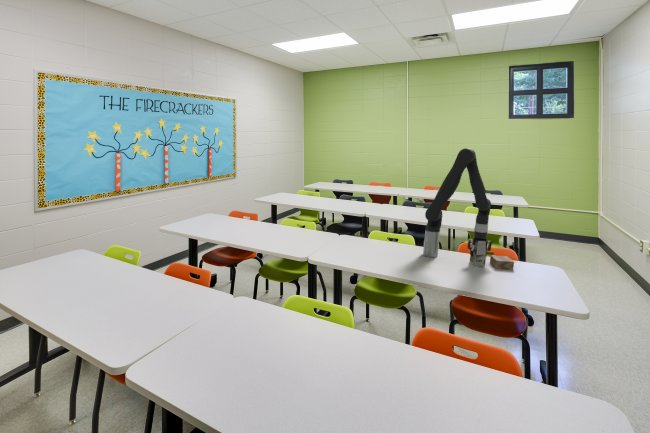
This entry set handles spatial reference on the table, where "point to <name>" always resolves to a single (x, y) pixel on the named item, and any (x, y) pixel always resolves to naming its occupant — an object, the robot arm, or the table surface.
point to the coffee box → (479, 253)
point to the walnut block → (501, 262)
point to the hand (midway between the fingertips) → (478, 256)
